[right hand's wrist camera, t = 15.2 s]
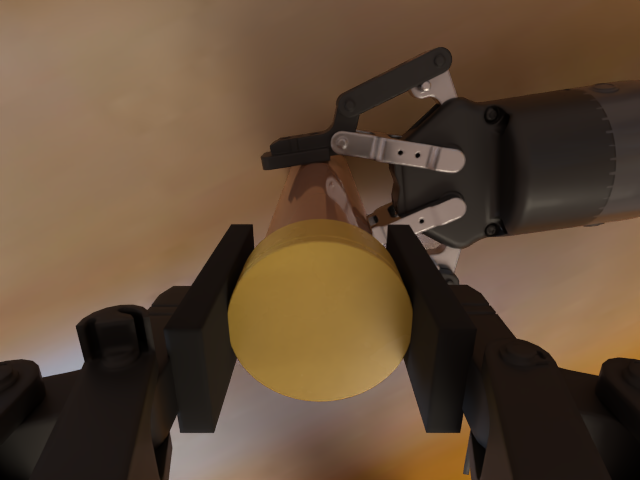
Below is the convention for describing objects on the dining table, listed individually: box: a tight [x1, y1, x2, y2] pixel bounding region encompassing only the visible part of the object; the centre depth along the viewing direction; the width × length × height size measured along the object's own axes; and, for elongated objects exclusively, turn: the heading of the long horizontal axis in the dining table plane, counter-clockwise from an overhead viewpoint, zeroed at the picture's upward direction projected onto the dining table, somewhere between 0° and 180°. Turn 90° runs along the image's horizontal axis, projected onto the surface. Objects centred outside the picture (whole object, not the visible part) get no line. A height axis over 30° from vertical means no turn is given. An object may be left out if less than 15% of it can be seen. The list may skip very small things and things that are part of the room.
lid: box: [228, 219, 413, 402], centre depth 11 cm, size 5×5×2 cm
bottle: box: [265, 155, 375, 238], centre depth 20 cm, size 4×4×19 cm
